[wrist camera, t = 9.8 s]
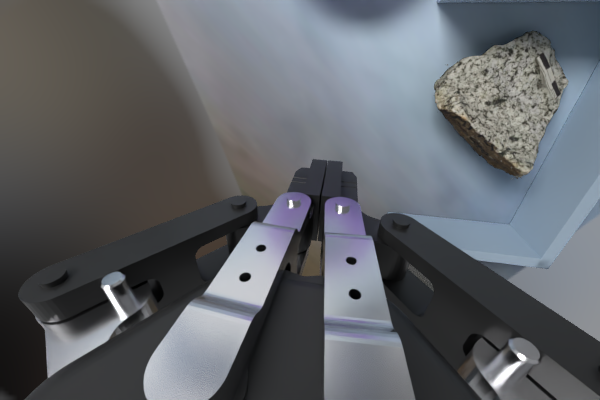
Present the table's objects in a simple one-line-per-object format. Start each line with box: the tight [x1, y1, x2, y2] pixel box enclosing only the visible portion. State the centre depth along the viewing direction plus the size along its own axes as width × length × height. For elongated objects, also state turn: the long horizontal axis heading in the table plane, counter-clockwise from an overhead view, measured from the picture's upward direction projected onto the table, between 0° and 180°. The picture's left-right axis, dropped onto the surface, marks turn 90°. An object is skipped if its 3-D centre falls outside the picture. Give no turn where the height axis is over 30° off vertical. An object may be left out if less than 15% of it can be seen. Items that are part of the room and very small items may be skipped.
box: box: [388, 0, 600, 269], centre depth 20 cm, size 20×13×5 cm, turn 179°
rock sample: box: [434, 31, 568, 179], centre depth 19 cm, size 10×8×9 cm
